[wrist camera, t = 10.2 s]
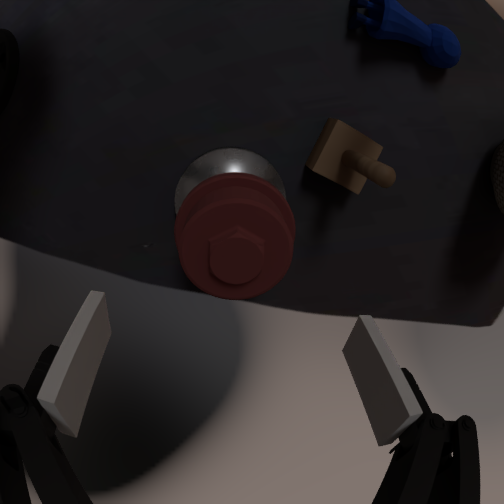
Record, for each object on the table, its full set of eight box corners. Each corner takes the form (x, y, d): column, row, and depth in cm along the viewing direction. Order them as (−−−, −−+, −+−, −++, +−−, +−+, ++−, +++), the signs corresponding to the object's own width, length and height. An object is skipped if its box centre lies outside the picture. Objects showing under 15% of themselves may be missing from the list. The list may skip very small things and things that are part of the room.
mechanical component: (298, 190, 31) (246, 260, 34) (218, 139, 28) (170, 218, 31) (335, 240, 20) (255, 334, 23) (210, 161, 17) (142, 281, 20)
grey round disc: (157, 210, 32) (154, 215, 31) (220, 124, 28) (220, 125, 27) (239, 265, 36) (239, 271, 35) (304, 191, 32) (308, 195, 31)
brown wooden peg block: (305, 164, 31) (339, 193, 21) (328, 118, 29) (374, 126, 19) (348, 186, 32) (394, 223, 23) (371, 143, 30) (426, 163, 20)
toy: (344, 38, 25) (446, 78, 26) (366, 26, 19) (476, 78, 20) (348, -7, 22) (449, 36, 23) (368, -25, 16) (477, 31, 17)
